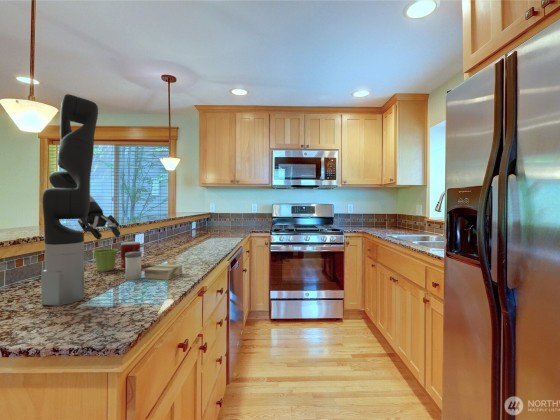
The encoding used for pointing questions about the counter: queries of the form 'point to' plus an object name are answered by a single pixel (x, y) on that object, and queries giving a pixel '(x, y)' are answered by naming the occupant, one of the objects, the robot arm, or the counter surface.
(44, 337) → the counter surface
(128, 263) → the spice jar
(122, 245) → the canned food
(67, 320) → the counter surface
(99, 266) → the plant pot
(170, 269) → the maple base
